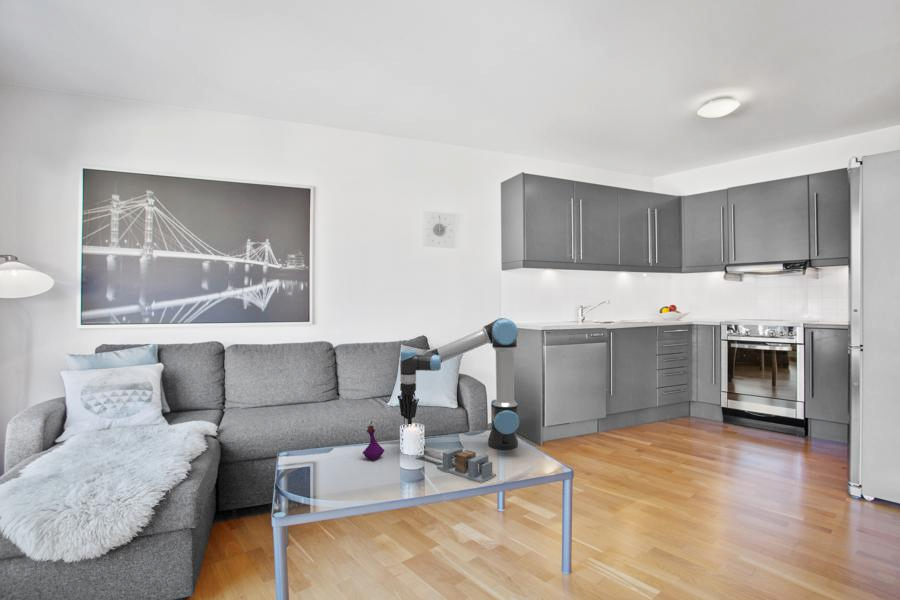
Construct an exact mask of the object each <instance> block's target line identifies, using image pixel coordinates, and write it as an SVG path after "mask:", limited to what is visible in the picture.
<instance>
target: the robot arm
mask: <svg viewBox="0 0 900 600" xmlns="http://www.w3.org/2000/svg"><path fill="white" fill-rule="evenodd" d="M518 334H519V330H518V327H517V325H516V323H515V322H514V321H512V320H511V319H508V318H504V317H501V318H497V319H495V320H494V321H492V322H491V323H488V324H486V325H484V326H482V328H481V329H479V330H477V331H475V332H473V333H472V332H471V333H470V334H468V335H465V336H463V337H461V338H459V339H455V340H452V342H449V343H447V344H444V345H442V346H439V347H438V348H434V349H432V350H428V351H426V352H425V353H424V354H417V351H416V350H414V349H413V350H412V349H411V350H410V349H409V350H408V349H406V350H405V349H404V350H402V351H401V352H400V359H399V361H400V362H399V364H400V369H399V370H400V379H399V381H400V384H399V385H400V386H399V387H400V391H401V393H400V394H399V395H397V399H398V400H397V401H398V405H399V411H400V415H401V417H403V420H404V421H403V423H404V424H403V425H404V426H405V425H407V424H412V425H413V420H412V419H413V418H415V417H416V413H417V409H418V408H417V407H418V403H419V402H420V399H419V398H417V397H416V390H417V383H416V382H417V371H431V372H435V371H436V372H437V371H440V370H441V369H442V363H444V362H446V361H448V360H450V359H451V360H452V359H453V358H455V357H457V356H460V355H463V354H465V353H468V352H470V351H472V350H474V349H478V348H479V347H482V346H485V345H487V344H490V345H491V347H492V348H493V350H495V388H496V389H495V393H496V396H495V398H496V399H492V400H491V402H490V403H491V404H490V411H491V413H490V414H491V415H490V417H491V418H490V419H491V420H490V422H491V425H490V427H491V428H490V433H489V437H488V439H487V445H488V446H489V447H490V448H493V449H496V450H497V449H498V450H512V449H515V448H517V447H519V441H518V438H517V433H516V431H517V430H518V428H519V426H520V416H519V414H518V413H519V411H518V410H519V409H518V408H519V405H518V403H517V401H516V400H515V363H514V358H515V356H514V355H515V354H514V351H515V350H516V348H517V347H518V345H517V344H518V343H517V342H518V341H517V339H518V336H519V335H518Z"/></svg>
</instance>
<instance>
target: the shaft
mask: <svg viewBox="0 0 900 600" xmlns="http://www.w3.org/2000/svg"><path fill="white" fill-rule="evenodd" d="M423 446H424V445H423ZM423 456H425V457H429V458H432V459H435V460H439V461H441V462H443V452H439V451H435V450H431V449H430V448H426V446H424V455H423ZM452 464H455V457H453V456H452Z"/></svg>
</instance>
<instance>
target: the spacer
mask: <svg viewBox="0 0 900 600" xmlns="http://www.w3.org/2000/svg"><path fill="white" fill-rule="evenodd" d="M476 455H477V453H476V452H475V451H472V450H468V449H466V450H463V452H461V453H458V454H455V471H457V472H460V473H463V474H465V473H466V467H467V468H468V460H470V459H472V458H475V457H477V456H476Z"/></svg>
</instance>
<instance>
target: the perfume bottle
mask: <svg viewBox="0 0 900 600" xmlns="http://www.w3.org/2000/svg"><path fill="white" fill-rule="evenodd" d="M373 423H374V424H376V426H377V425H378V423H379V422H378V420H377V419H372V420H371V421H370V425H367V429H366V433H368V435H369V438H370V442H369V444H368V445H367V446H366V448H365V449H364V450H363V452H362V455H363V456H364V457H365V458H366V459H367V460H370V461H376V460H378V459H380V458H381V457H382V456H383V453H384V452H385V449H384V448H383V447H382V446H381V445H380V444H379V443H378V441H377V440H376V437H375V432H376V429H375V428H374V427H375V426H374V425H372V424H373Z"/></svg>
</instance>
